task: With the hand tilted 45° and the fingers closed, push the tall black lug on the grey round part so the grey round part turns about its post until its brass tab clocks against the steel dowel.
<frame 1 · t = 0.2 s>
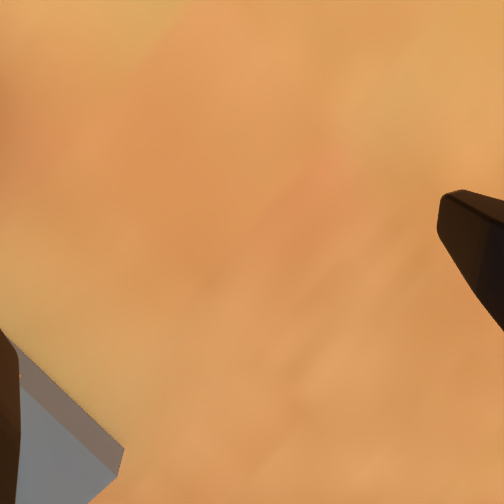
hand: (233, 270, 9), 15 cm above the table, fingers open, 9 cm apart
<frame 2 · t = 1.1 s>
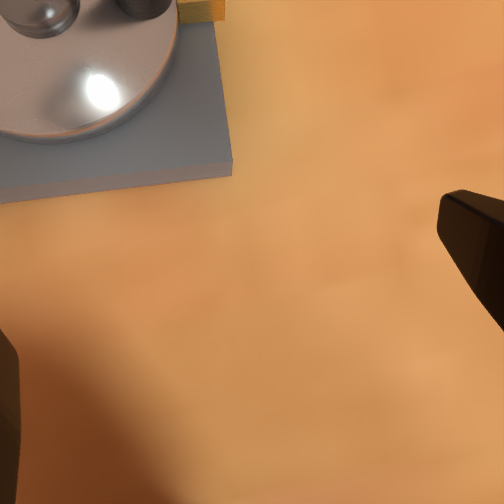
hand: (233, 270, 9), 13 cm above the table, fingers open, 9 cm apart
post base: (73, 56, 23), on the table
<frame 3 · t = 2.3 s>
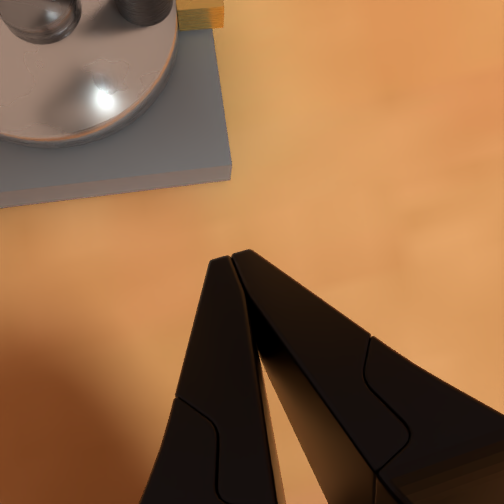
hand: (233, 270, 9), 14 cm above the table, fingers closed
post base: (73, 63, 23), on the table
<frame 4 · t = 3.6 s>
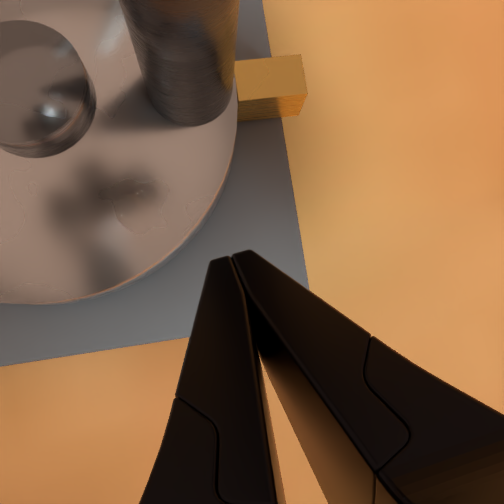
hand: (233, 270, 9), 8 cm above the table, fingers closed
post base: (81, 154, 17), on the table
grey round part: (16, 10, 9), point 8 cm above the table, hinge at 0.0°
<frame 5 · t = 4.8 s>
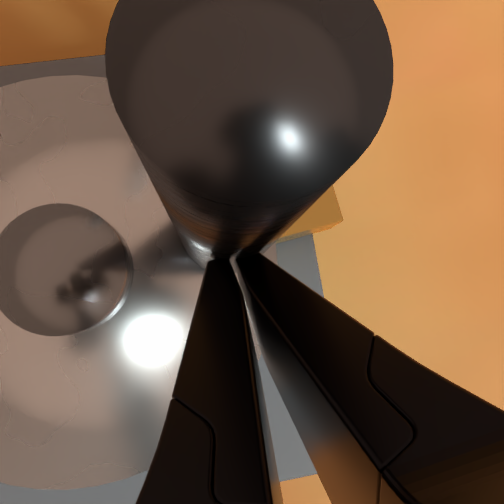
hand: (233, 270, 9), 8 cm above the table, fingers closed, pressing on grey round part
post base: (108, 280, 17), on the table
grey round part: (65, 243, 9), point 8 cm above the table, hinge at 6.7°, touching gripper
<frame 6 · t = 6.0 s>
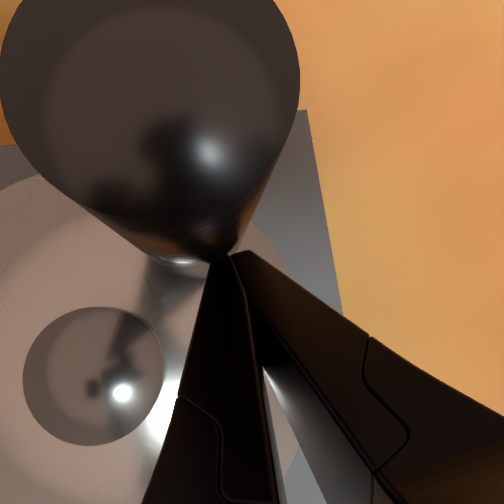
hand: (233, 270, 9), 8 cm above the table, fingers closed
post base: (133, 351, 16), on the table
grey round part: (89, 349, 8), point 8 cm above the table, hinge at 47.6°, touching gripper, post base
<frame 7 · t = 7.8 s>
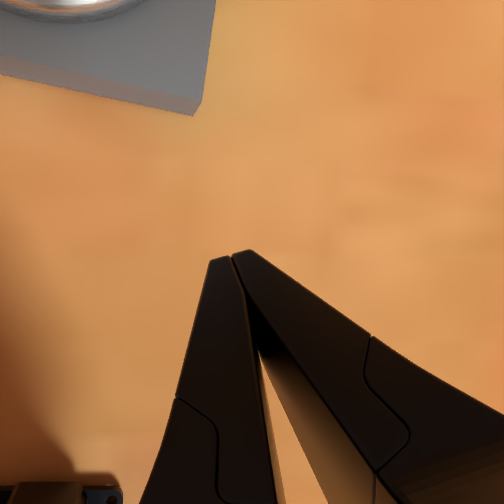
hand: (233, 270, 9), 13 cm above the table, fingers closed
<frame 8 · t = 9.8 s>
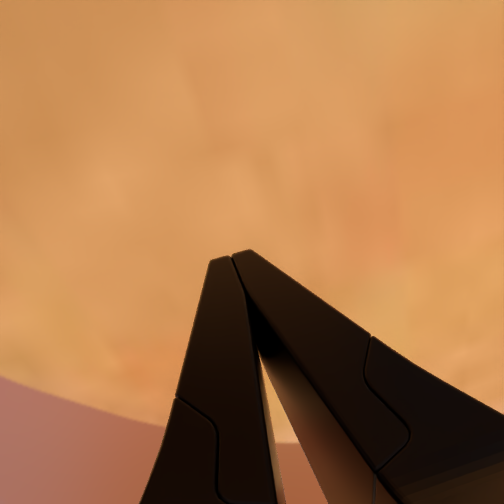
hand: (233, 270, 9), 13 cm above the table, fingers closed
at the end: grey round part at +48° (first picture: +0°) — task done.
